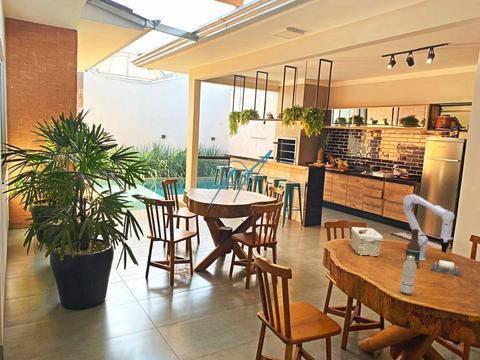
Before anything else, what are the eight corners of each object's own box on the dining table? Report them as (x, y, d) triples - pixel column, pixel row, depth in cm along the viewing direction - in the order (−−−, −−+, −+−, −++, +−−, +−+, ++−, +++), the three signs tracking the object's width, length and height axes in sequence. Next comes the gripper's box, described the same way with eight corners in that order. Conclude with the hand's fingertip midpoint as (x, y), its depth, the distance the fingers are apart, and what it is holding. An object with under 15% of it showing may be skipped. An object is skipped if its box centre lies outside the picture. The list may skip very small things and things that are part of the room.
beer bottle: (417, 265, 233) (422, 229, 230) (418, 269, 226) (423, 231, 223) (404, 263, 236) (409, 227, 233) (404, 266, 229) (409, 229, 226)
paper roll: (437, 268, 226) (438, 261, 225) (438, 266, 230) (439, 258, 229) (453, 272, 222) (455, 264, 221) (453, 269, 226) (454, 261, 225)
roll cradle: (430, 270, 225) (431, 264, 225) (431, 265, 234) (431, 259, 234) (460, 276, 218) (461, 270, 217) (460, 271, 227) (460, 265, 226)
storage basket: (348, 245, 268) (350, 226, 266) (371, 247, 267) (373, 228, 265) (356, 256, 244) (359, 234, 243) (381, 258, 243) (384, 236, 242)
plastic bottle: (396, 290, 190) (401, 253, 188) (409, 290, 191) (413, 253, 189) (403, 295, 184) (408, 257, 182) (415, 296, 185) (420, 258, 182)
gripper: (453, 233, 227) (451, 254, 229) (453, 229, 240) (450, 249, 242) (441, 231, 231) (438, 252, 232) (441, 227, 243) (438, 247, 245)
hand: (443, 250), depth 237 cm, fingers open, 7 cm apart
